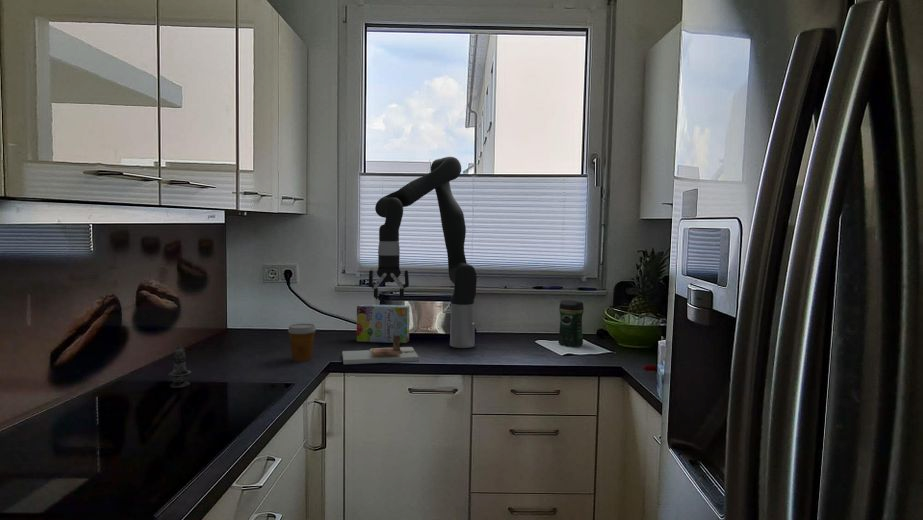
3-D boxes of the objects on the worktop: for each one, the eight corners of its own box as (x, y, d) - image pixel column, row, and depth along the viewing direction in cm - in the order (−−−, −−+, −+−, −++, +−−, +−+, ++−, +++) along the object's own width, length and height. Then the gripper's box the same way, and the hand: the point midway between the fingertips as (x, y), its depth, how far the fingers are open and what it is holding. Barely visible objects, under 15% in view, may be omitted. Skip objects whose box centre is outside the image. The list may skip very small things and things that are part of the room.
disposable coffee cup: (321, 357, 186) (321, 324, 185) (305, 364, 177) (305, 329, 176) (298, 355, 189) (299, 322, 188) (281, 361, 180) (281, 326, 179)
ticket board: (412, 352, 196) (412, 346, 196) (418, 360, 184) (418, 354, 183) (342, 355, 190) (342, 349, 189) (343, 364, 177) (343, 357, 177)
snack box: (409, 341, 216) (409, 305, 216) (406, 343, 211) (407, 307, 210) (359, 339, 218) (360, 303, 218) (355, 341, 213) (356, 305, 212)
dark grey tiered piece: (174, 381, 154) (173, 342, 153) (194, 381, 154) (194, 342, 154) (164, 388, 148) (163, 346, 147) (185, 387, 148) (185, 346, 148)
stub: (399, 350, 188) (399, 332, 188) (401, 354, 183) (401, 335, 182) (371, 351, 185) (371, 333, 185) (373, 355, 180) (373, 336, 180)
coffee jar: (585, 345, 214) (587, 300, 213) (575, 348, 208) (577, 302, 207) (565, 341, 221) (566, 298, 219) (555, 344, 215) (556, 299, 214)
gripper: (409, 253, 189) (409, 297, 190) (370, 253, 188) (369, 297, 189) (408, 254, 182) (408, 300, 183) (367, 254, 181) (367, 300, 182)
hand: (388, 299), depth 186 cm, fingers open, 8 cm apart
